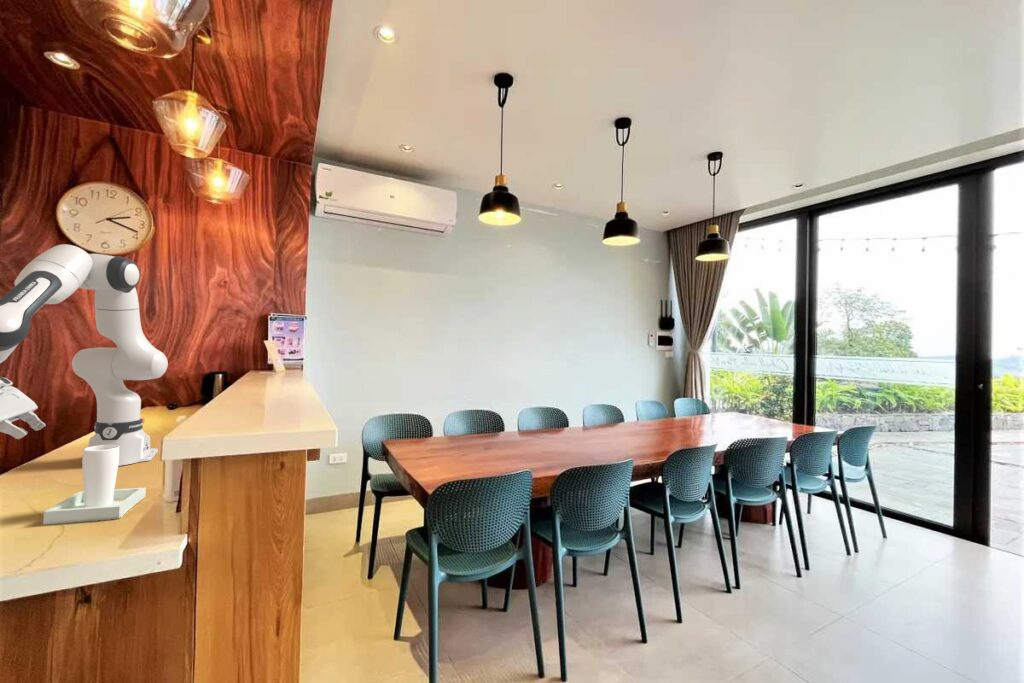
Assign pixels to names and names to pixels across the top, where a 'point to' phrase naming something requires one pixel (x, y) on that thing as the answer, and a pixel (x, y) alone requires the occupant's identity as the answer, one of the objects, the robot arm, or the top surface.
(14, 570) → the top surface
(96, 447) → the white tall cup
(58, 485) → the top surface
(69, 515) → the tray
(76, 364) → the robot arm
